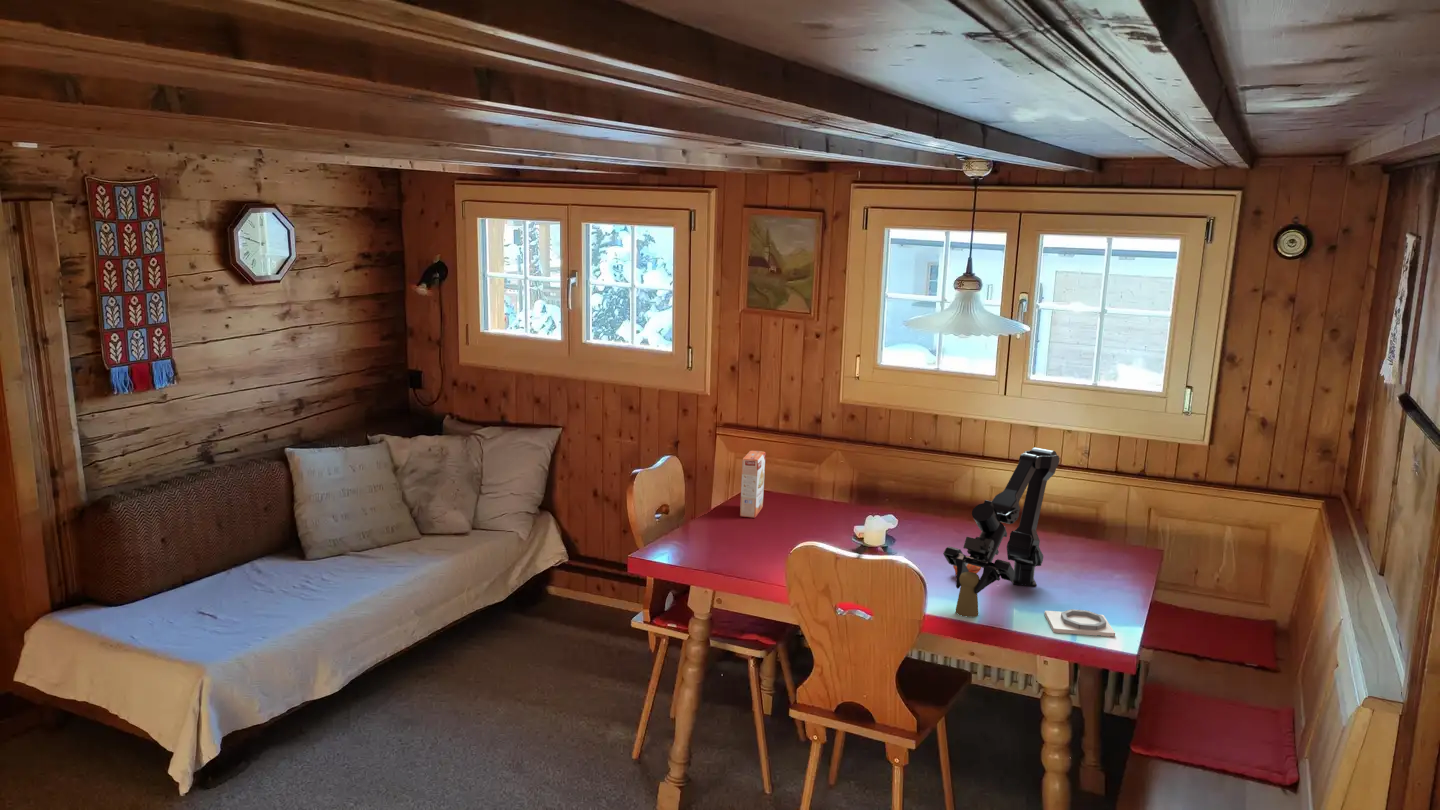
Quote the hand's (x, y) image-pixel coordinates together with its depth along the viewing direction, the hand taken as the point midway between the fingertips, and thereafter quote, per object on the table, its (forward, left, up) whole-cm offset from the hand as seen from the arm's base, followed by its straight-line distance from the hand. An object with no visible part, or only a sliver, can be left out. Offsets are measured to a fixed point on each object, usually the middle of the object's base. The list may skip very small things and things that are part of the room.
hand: (966, 590), depth 260 cm
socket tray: (+2, +29, -7) cm, 30 cm away
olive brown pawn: (-1, +1, -7) cm, 7 cm away
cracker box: (-81, -64, -7) cm, 104 cm away
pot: (-29, +4, -7) cm, 30 cm away
